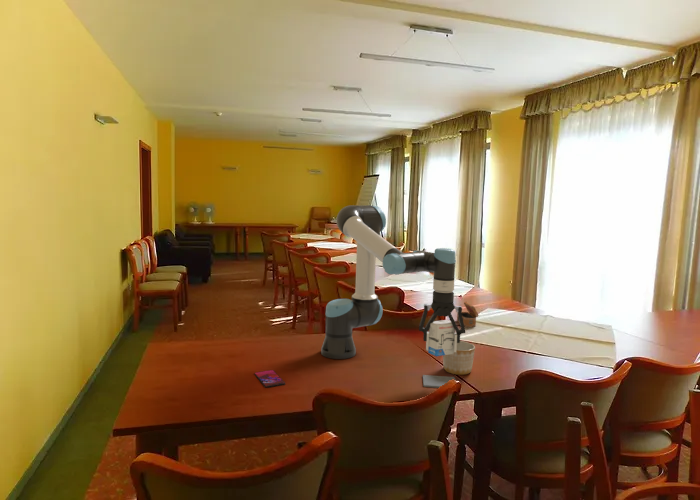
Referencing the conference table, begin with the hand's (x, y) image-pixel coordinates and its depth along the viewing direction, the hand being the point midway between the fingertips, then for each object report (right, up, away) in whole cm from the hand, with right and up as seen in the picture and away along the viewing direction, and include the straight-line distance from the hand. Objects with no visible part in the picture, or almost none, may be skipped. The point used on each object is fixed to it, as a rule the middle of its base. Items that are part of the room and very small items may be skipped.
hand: (441, 350), depth 172 cm
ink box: (0, -1, 0) cm, 1 cm away
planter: (+9, -11, +14) cm, 21 cm away
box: (+31, -4, +85) cm, 91 cm away
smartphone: (-64, -12, +1) cm, 65 cm away
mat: (0, -12, +1) cm, 12 cm away
